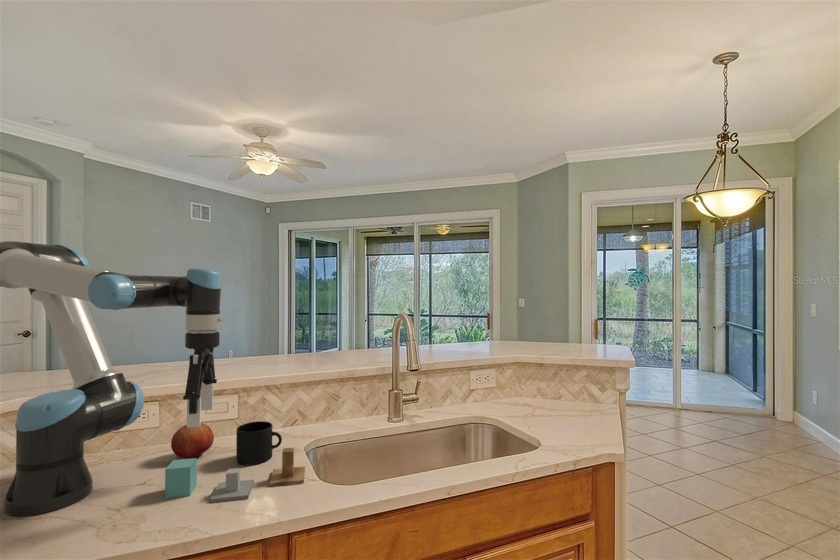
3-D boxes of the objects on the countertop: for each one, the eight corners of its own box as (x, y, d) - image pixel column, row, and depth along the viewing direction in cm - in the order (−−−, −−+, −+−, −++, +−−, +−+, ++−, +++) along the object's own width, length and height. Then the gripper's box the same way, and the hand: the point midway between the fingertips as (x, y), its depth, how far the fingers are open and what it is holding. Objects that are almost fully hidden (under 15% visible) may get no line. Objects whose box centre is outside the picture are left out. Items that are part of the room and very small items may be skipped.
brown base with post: (269, 486, 102) (269, 457, 102) (273, 472, 110) (273, 445, 110) (303, 483, 103) (303, 454, 104) (305, 469, 111) (305, 442, 111)
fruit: (215, 447, 126) (216, 414, 126) (210, 460, 117) (211, 424, 117) (175, 452, 123) (175, 418, 123) (167, 466, 113) (167, 428, 113)
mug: (280, 462, 115) (280, 429, 116) (233, 467, 112) (233, 433, 113) (282, 449, 125) (283, 419, 125) (239, 453, 122) (239, 422, 122)
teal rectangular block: (164, 498, 96) (165, 469, 96) (172, 487, 101) (173, 460, 101) (189, 495, 97) (190, 467, 97) (196, 485, 102) (196, 458, 102)
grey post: (210, 502, 94) (210, 480, 94) (218, 486, 102) (219, 465, 102) (248, 498, 96) (248, 476, 96) (253, 482, 104) (254, 462, 104)
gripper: (208, 337, 93) (205, 434, 92) (228, 326, 117) (226, 402, 116) (170, 337, 91) (167, 436, 90) (198, 326, 115) (196, 404, 114)
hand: (200, 417), depth 103 cm, fingers open, 13 cm apart
